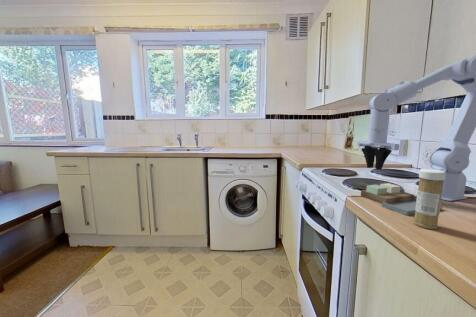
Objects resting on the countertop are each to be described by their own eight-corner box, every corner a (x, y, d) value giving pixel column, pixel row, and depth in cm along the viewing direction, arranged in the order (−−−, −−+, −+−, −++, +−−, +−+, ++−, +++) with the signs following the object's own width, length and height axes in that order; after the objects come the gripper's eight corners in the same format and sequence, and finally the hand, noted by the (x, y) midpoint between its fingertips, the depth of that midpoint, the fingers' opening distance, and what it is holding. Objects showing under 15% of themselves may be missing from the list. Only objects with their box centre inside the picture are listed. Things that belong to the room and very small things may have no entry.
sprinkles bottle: (440, 226, 53) (448, 170, 51) (433, 231, 51) (442, 173, 49) (416, 219, 57) (424, 167, 55) (409, 224, 54) (416, 169, 52)
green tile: (375, 190, 75) (375, 184, 75) (386, 193, 72) (387, 187, 71) (366, 191, 74) (366, 185, 74) (377, 195, 70) (377, 188, 70)
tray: (414, 201, 71) (415, 197, 71) (441, 209, 64) (442, 205, 64) (381, 206, 66) (382, 202, 66) (406, 215, 60) (407, 211, 59)
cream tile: (388, 188, 77) (388, 183, 77) (399, 192, 74) (400, 186, 73) (379, 189, 76) (380, 184, 76) (391, 193, 72) (391, 187, 72)
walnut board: (386, 192, 79) (387, 187, 79) (413, 201, 71) (414, 194, 71) (360, 195, 76) (361, 190, 75) (385, 205, 67) (386, 198, 67)
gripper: (352, 129, 83) (349, 165, 85) (389, 130, 70) (385, 173, 72) (366, 129, 86) (363, 164, 88) (405, 130, 72) (400, 171, 74)
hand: (374, 168), depth 80 cm, fingers open, 3 cm apart
